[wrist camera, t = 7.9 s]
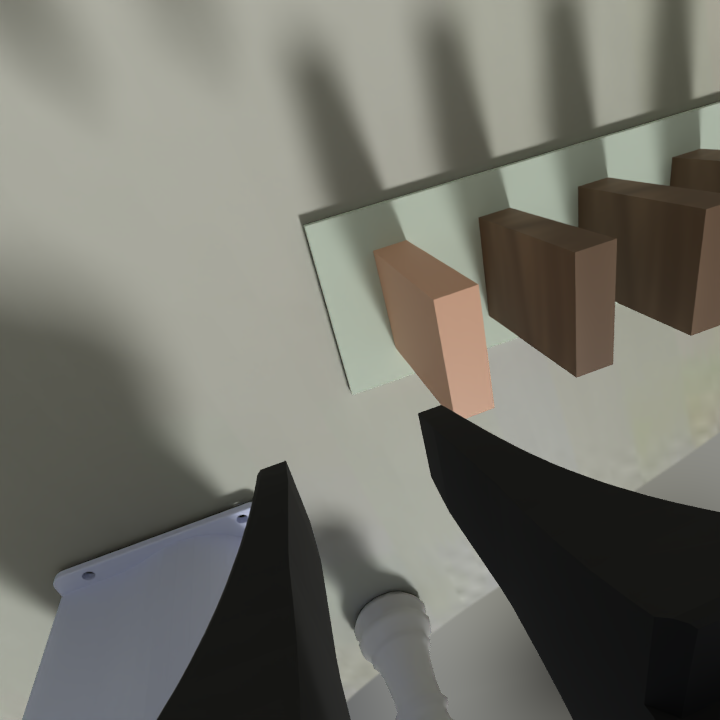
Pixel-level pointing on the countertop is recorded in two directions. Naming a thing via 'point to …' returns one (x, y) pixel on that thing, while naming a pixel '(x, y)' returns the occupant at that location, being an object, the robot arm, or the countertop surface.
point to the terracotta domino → (437, 326)
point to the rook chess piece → (402, 654)
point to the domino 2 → (660, 248)
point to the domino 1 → (552, 286)
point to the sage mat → (475, 228)
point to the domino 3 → (697, 170)
